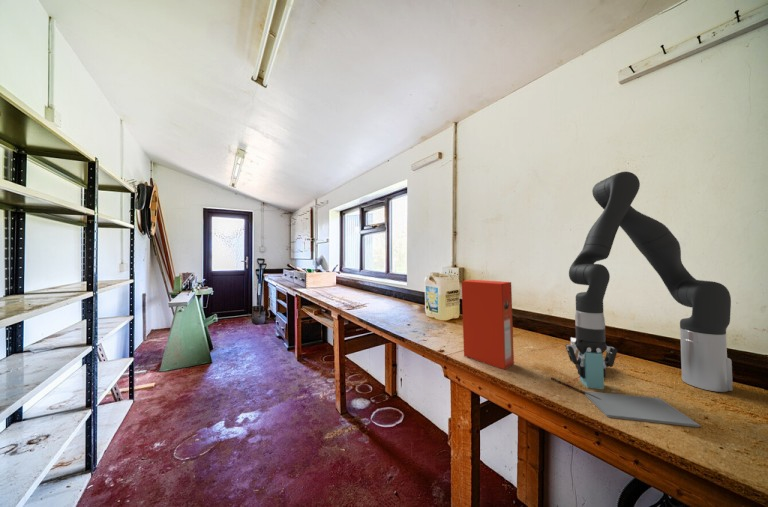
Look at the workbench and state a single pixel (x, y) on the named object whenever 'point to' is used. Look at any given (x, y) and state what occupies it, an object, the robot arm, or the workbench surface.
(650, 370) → the workbench surface
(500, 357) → the file binder
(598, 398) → the dark brown rod
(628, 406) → the mat
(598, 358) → the block
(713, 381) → the robot arm
